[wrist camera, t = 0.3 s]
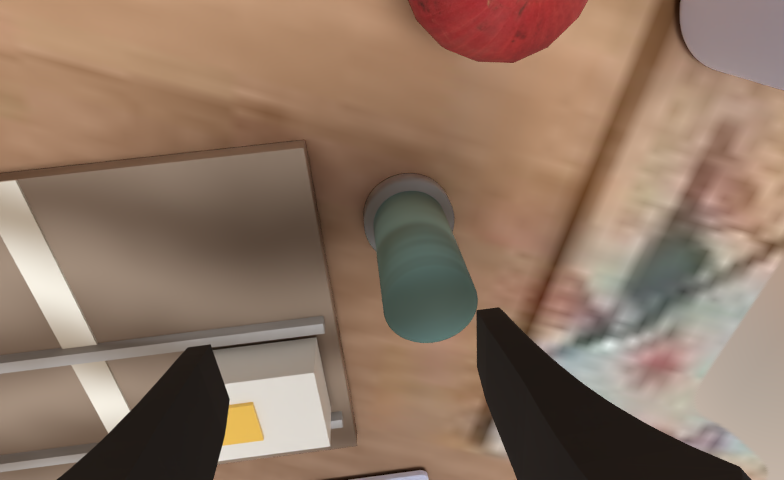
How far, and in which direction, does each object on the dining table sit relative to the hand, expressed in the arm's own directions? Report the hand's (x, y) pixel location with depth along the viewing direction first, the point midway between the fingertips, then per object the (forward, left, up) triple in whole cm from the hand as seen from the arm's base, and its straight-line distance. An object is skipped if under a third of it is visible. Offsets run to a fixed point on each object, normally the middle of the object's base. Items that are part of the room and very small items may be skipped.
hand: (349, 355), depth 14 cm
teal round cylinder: (-1, -3, -10) cm, 10 cm away
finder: (-9, +5, -9) cm, 14 cm away
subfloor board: (-6, +11, -10) cm, 16 cm away
